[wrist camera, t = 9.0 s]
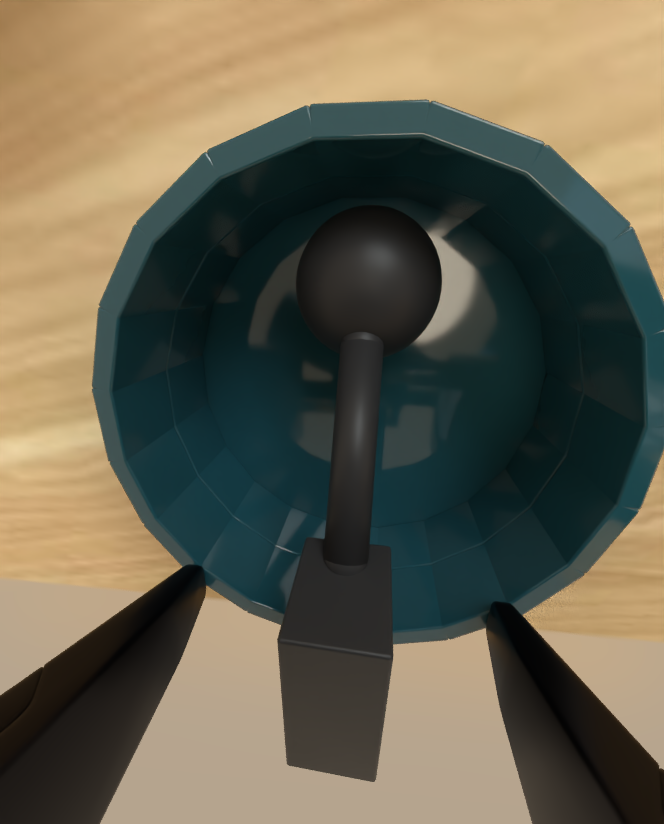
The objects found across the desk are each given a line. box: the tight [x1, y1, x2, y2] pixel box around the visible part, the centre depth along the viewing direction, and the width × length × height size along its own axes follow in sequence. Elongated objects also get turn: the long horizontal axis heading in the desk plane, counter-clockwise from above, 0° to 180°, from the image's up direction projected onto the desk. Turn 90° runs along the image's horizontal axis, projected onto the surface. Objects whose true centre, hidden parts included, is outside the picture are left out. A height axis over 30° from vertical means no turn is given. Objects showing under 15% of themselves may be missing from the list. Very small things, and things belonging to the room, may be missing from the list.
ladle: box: [277, 205, 442, 782], centre depth 9 cm, size 12×4×8 cm, turn 179°
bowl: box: [92, 100, 664, 644], centre depth 10 cm, size 12×12×5 cm
